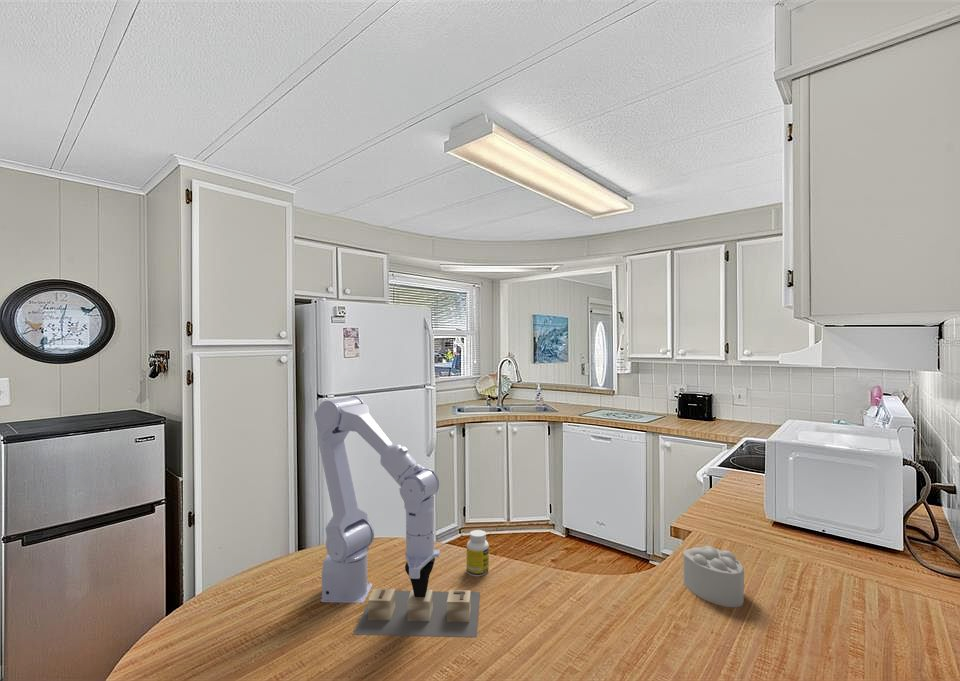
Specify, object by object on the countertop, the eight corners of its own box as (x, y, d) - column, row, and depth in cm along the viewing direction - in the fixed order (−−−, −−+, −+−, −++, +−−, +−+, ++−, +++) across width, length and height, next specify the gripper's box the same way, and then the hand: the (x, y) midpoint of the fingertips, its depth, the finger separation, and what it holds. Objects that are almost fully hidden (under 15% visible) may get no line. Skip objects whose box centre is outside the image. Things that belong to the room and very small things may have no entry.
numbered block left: (368, 619, 98) (368, 599, 98) (374, 607, 102) (373, 587, 102) (390, 620, 97) (390, 599, 97) (395, 607, 102) (395, 588, 102)
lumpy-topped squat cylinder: (713, 574, 117) (713, 539, 117) (757, 603, 104) (757, 564, 104) (676, 580, 114) (676, 544, 114) (716, 610, 102) (717, 570, 102)
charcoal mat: (352, 637, 93) (352, 634, 93) (374, 592, 109) (374, 590, 109) (477, 640, 92) (477, 637, 92) (480, 594, 108) (480, 592, 108)
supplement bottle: (486, 579, 115) (486, 538, 115) (464, 577, 116) (464, 536, 116) (490, 568, 120) (490, 529, 120) (469, 566, 121) (469, 527, 121)
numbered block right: (447, 621, 97) (446, 601, 97) (449, 608, 102) (449, 589, 101) (469, 622, 97) (469, 601, 97) (470, 609, 101) (470, 589, 101)
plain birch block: (407, 620, 97) (407, 601, 97) (411, 608, 102) (411, 589, 102) (429, 621, 97) (429, 601, 97) (432, 608, 102) (432, 589, 102)
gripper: (434, 546, 92) (435, 617, 92) (443, 517, 106) (443, 578, 107) (397, 545, 92) (398, 616, 92) (411, 517, 107) (412, 578, 107)
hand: (420, 596), depth 99 cm, fingers closed, pressing on plain birch block
